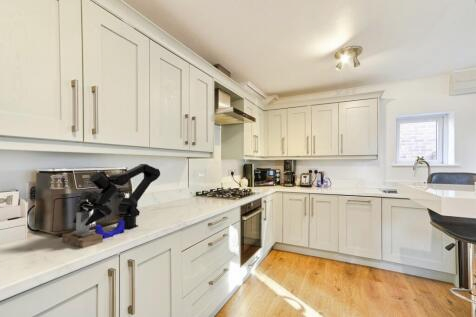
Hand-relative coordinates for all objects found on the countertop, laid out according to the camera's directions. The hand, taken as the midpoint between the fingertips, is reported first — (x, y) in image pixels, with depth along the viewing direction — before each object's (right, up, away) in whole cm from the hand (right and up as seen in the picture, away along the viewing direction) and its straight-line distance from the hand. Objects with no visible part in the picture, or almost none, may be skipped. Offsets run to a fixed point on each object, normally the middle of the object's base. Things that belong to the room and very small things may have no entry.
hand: (79, 223), depth 96 cm
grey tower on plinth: (+1, -8, +1) cm, 8 cm away
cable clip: (+8, -9, +10) cm, 15 cm away
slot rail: (+1, -8, +1) cm, 8 cm away
